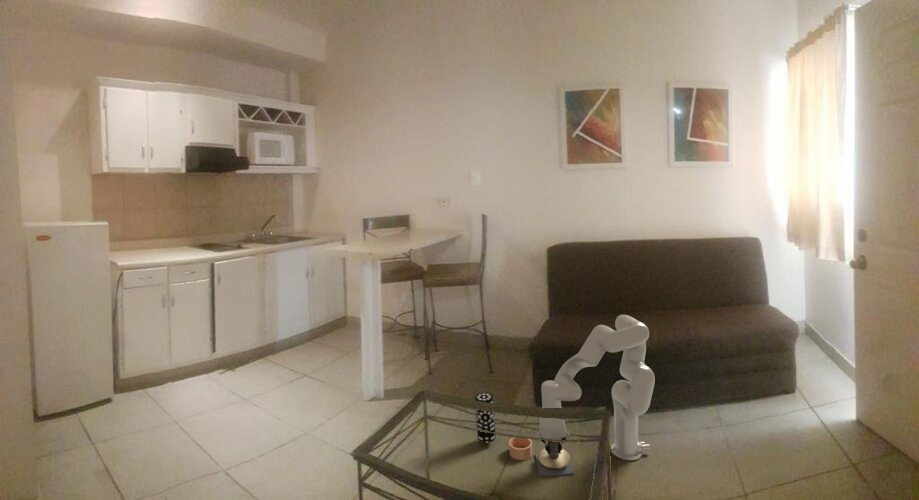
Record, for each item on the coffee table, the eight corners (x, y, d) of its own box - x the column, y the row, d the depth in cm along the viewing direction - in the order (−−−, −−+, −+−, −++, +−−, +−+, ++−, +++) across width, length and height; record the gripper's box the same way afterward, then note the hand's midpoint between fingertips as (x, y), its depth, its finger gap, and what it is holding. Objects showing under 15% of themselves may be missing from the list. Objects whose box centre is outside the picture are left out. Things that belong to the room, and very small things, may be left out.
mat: (567, 453, 193) (567, 452, 193) (574, 474, 179) (574, 473, 179) (535, 454, 194) (535, 453, 194) (539, 475, 180) (539, 474, 180)
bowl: (531, 446, 201) (530, 435, 200) (533, 459, 191) (533, 449, 190) (509, 446, 201) (508, 436, 200) (510, 460, 191) (509, 449, 191)
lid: (566, 448, 192) (566, 431, 191) (572, 467, 180) (572, 449, 178) (536, 449, 193) (535, 432, 192) (540, 468, 180) (539, 450, 179)
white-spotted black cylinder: (496, 442, 201) (493, 400, 198) (477, 443, 201) (475, 401, 198) (495, 432, 209) (492, 392, 206) (477, 433, 209) (474, 393, 206)
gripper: (570, 405, 186) (572, 446, 189) (530, 407, 187) (532, 447, 190) (574, 415, 179) (575, 456, 182) (532, 416, 180) (534, 458, 183)
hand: (553, 451), depth 186 cm, fingers closed on lid, 4 cm apart
